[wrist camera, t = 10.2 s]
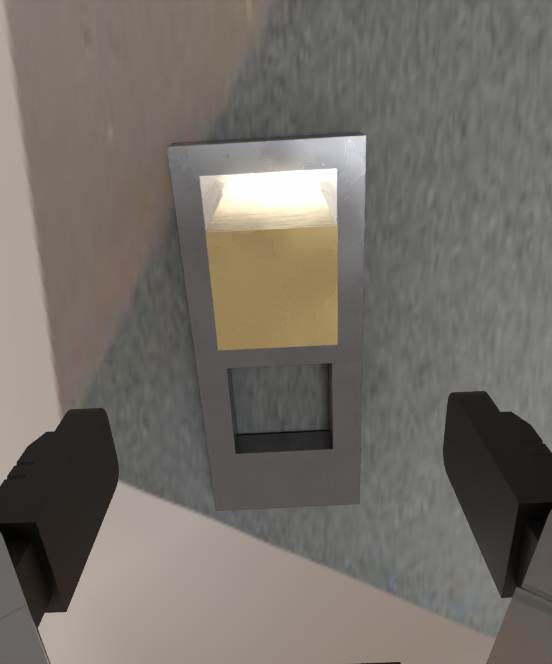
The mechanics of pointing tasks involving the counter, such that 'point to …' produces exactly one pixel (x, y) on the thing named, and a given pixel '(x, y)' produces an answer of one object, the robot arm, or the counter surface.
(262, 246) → the yellow wooden block
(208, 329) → the grey slotted holder
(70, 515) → the robot arm
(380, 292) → the counter surface
